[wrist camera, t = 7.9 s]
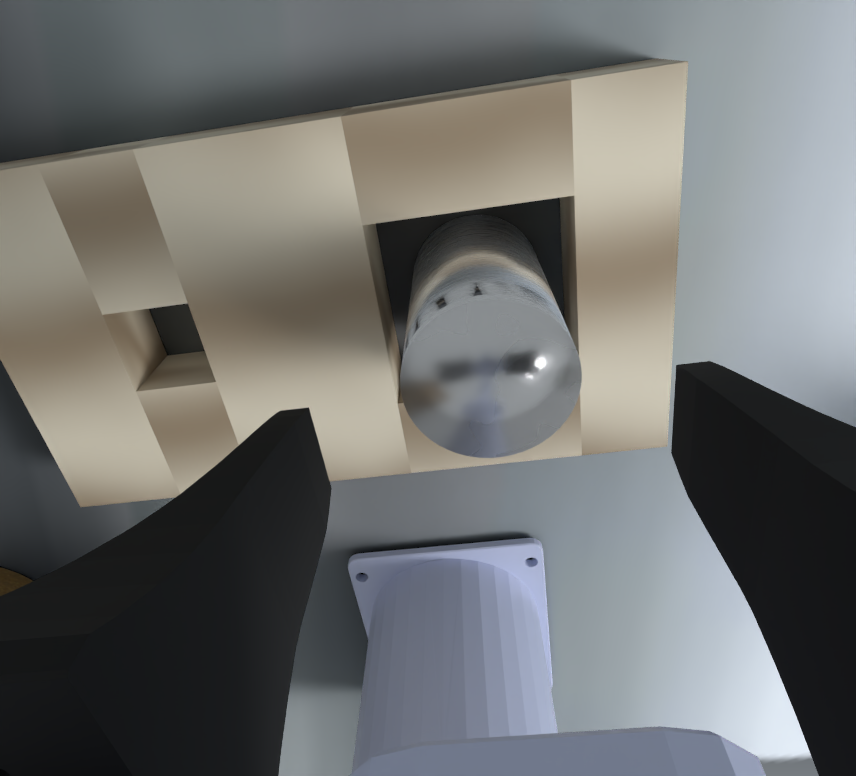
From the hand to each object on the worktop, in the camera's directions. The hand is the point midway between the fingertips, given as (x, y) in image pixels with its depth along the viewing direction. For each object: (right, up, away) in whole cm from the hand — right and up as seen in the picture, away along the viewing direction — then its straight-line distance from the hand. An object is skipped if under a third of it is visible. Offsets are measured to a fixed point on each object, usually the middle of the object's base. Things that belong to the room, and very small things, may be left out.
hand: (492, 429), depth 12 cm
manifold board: (-4, +4, +8) cm, 10 cm away
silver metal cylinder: (0, +4, +8) cm, 9 cm away
